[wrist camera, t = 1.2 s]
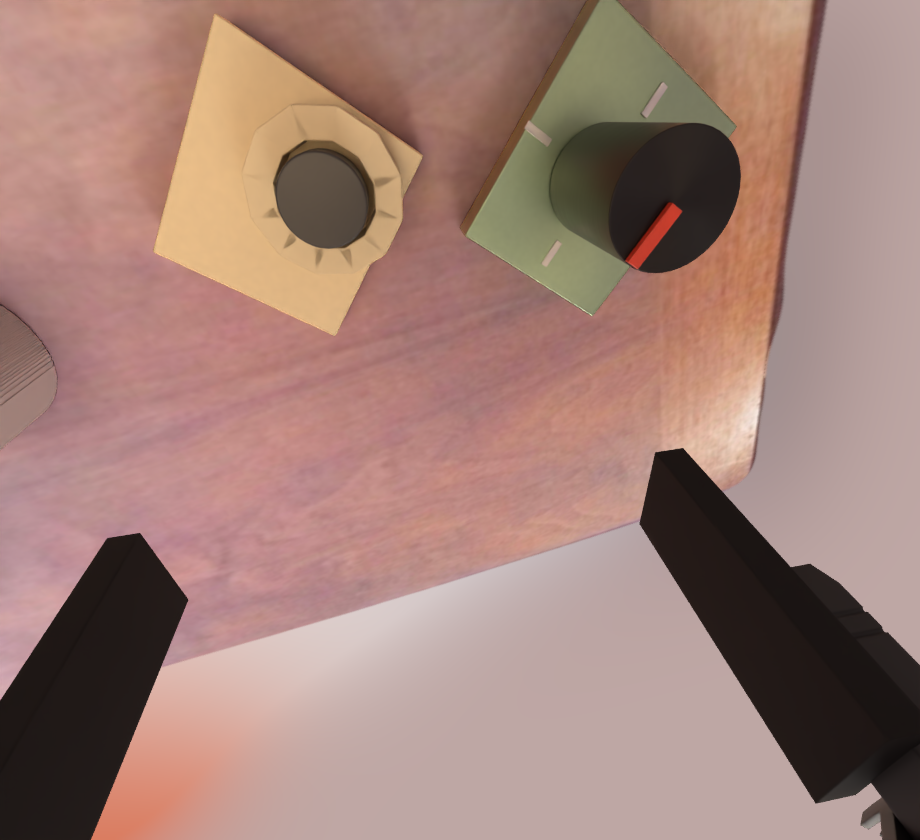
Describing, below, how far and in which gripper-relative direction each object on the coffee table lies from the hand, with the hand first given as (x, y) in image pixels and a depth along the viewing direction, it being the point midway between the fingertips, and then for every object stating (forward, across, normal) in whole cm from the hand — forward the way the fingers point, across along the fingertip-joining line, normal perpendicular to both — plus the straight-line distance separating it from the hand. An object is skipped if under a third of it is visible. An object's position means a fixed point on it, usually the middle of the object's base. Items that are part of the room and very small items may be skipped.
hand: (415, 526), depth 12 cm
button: (+14, -2, +6) cm, 15 cm away
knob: (+15, +11, +6) cm, 20 cm away
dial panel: (+17, +11, +6) cm, 21 cm away
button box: (+17, -4, +6) cm, 19 cm away
